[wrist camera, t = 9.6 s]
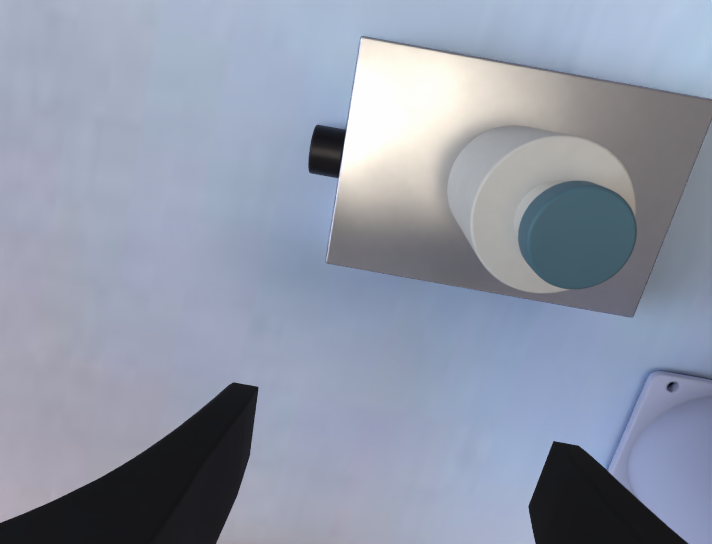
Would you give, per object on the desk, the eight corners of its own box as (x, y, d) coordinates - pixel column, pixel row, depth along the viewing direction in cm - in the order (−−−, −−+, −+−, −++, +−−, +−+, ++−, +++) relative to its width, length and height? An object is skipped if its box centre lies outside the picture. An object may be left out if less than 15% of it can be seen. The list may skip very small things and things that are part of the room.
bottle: (583, 137, 17) (715, 161, 10) (547, 253, 18) (641, 341, 11) (462, 115, 17) (514, 124, 10) (435, 232, 18) (464, 309, 11)
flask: (677, 100, 18) (720, 100, 16) (605, 294, 21) (633, 318, 19) (331, 37, 18) (324, 28, 16) (303, 240, 21) (293, 258, 19)
